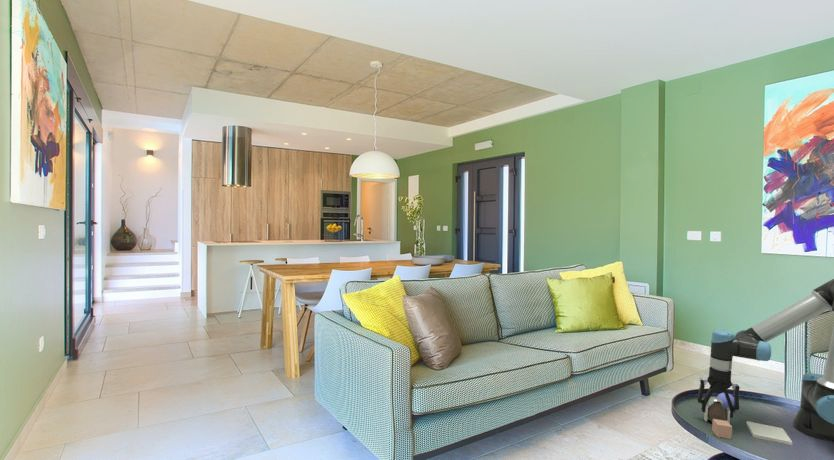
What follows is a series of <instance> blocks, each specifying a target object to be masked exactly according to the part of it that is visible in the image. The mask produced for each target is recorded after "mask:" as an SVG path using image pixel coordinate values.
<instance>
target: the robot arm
mask: <svg viewBox="0 0 834 460" xmlns="http://www.w3.org/2000/svg"><path fill="white" fill-rule="evenodd" d="M827 311H831V312H832V313H833V314H834V278H831V279H830V280H828V281H826V282H825V283H823V284H821V285H819V286H818V287H816V288H814V289H813V290H811V294H809V295H807V296H805V297H804V298H802V299H799V300H797V302H795V303H793V304H791V305H789V306H788V307H786V308H784V309H782V310H780V311H778V312H777V313H774V314H773V315H770V317H767V318H766V319H764V320H762V321H760V322H758V323H756V324H754V325H753V326H751V327H750V328H747V329H746V330H745V329H741V330H739V331H736V332H735V333H733V332H732V331H728V330H724V329H715V330H713V331H712V334H711V340H710V341H711V343H710V357H709V359H710V360H709V369H708V370H709V371H708V377H707V378H702V377H700V378H699V383H700V384H699V388H698V393H697V398H696V400H697V403H699V404H701V412H702V413H703V419H704V422H708V416H707V415H708V405H709V404H708V403H709V399H710V397H712V395H713V393H715V391H720V392H721V393H724V394H725V397H726V399H727V402H728V405H729V408H727V409H726V412H727V420H726V421H728V422H729V423H730V421H731V420H730V419H731V418H732V419H733V418H734V411H739V410H740V401H739V400H740V399H739V391H740V388H741V387H740V386H739V384H737V383H736V384H735V383H732V370H733V367H732V366H733V359H734V357H736V358H744V359H749V360H753V361H758V362H759V361H761V362H762V361H763V362H768V361H770V360H771V357H772V346H771V344H770V343H769V341H772V340H773V339H775V338H777V337H779V336H781V335H784V334H785V333H787V332H789V331H790V330H792V329H794V328H797V327H799V326H800V325H802V324H804V323H806V322H808V321H809V320H812V319H813V318H815V317H817V316H819V315H822V314H823V313H825V312H827ZM801 382H802V383H801V392H800V393H801V394H800V406H799V409H798V411H797V413H796V414H795V416H794V418H793V421H792V425H793V427H794V428H795V429H796V430H797V431H799V432H800V433H803V434H805V435H808V436H810V437H813V438H816V439H820V440H824V441H830V440H834V327H833V329H832V334H831V338H830V343H829V347H828V352H827V357H826V361H825V366H824V371H823V374H819V373H814V372H813V373H812V372H807V373H804V374H803V375H802V379H801ZM707 383H708V385H709V387H708V388H709V389H708V390H707V391H706V393H705V395H704V391H705V386H706V385H707ZM730 388H732V390H733V397H734V406H732V403H731V400H730V397H729V394H730V393H729V392H728V389H730ZM703 396H704V397H703Z"/></svg>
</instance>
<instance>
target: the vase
mask: <svg viewBox="0 0 834 460" xmlns="http://www.w3.org/2000/svg"><path fill="white" fill-rule="evenodd" d="M713 419H718V420H725V421H726V420H727V409H725V408H724V407H723V406H722V404H721V402H719V401H714V403H713V404H711V405H710V406H709V407H708V415H707V420H709V422H710V423H712V422H713Z"/></svg>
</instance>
